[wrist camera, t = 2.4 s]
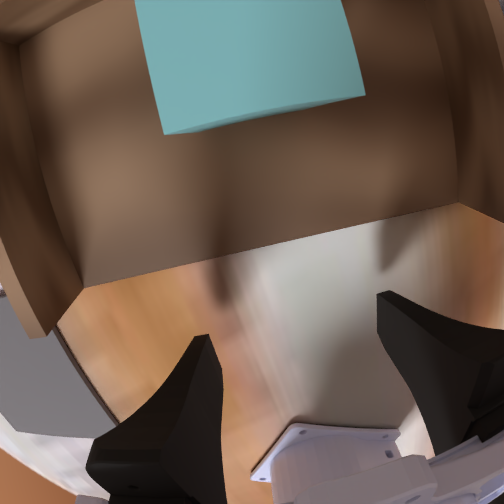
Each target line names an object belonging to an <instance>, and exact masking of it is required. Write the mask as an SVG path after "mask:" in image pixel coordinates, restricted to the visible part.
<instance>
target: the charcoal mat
mask: <svg viewBox="0 0 504 504" xmlns="http://www.w3.org/2000/svg"><path fill="white" fill-rule="evenodd" d="M0 413H1V414H2V415H3V416H4V417H5V419H6V420H7V421H8V422H9V423H10V424H11V426H12V427H13V428H14V429H15V430H16V431H18V432H25V433H33V434H41V435H51V436H62V437H76V438H98V437H100V436H101V435H103V434H105V433H107V432H108V431H110V430H112V429H113V428H115V427H116V426H118V425H119V423H118V422H117V421H116V420H115V418H114V417H113V416H112V414H111V413H110V412H109V410H108V409H107V407H106V406H105V405H104V403H103V402H102V400H101V399H100V398H99V396H98V395H97V393H96V392H95V390H94V389H93V387H92V386H91V385H90V383H89V381H88V380H87V378H86V377H85V375H84V374H83V372H82V371H81V369H80V368H79V366H78V364H77V363H76V361H75V359H74V358H73V356H72V355H71V353H70V351H69V349H68V348H67V346H66V344H65V343H64V341H63V339H62V337H61V336H60V334H59V332H58V330H57V328H56V326H54V328H53V329H52V330H51V332H50V333H49V335H48V336H47V337H42V338H35V339H29V337H28V335H27V334H26V332H25V330H24V328H23V326H22V325H21V323H20V321H19V319H18V317H17V315H16V313H15V311H14V309H13V308H12V306H11V304H10V302H9V300H8V297H7V295H6V294H5V295H2V296H0Z"/></svg>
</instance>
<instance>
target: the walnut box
mask: <svg viewBox="0 0 504 504" xmlns="http://www.w3.org/2000/svg"><path fill="white" fill-rule="evenodd" d="M341 3H342V6H343V9H344V12H345V16H346V19H347V22H348V26H349V29H350V33H351V36H352V40H353V44H354V47H355V51H356V55H357V59H358V63H359V67H360V71H361V76H362V80H363V85H364V89H365V94H366V95H365V96H360V97H355V98H350V99H346V100H341V101H337V102H333V103H328V104H324V105H320V106H316V107H312V108H308V109H304V110H299V111H294V112H288V113H282V114H277V115H272V116H267V117H262V118H257V119H252V120H247V121H243V122H238V123H234V124H230V125H225V126H221V127H217V128H213V129H209V130H205V131H201V132H197V133H182V134H170V135H164V132H163V129H162V125H161V120H160V116H159V112H158V108H157V104H156V100H155V96H154V91H153V87H152V83H151V78H150V74H149V69H148V65H147V60H146V56H145V51H144V46H143V42H142V37H141V32H140V27H139V22H138V16H137V11H136V6H135V0H0V283H1V285H2V287H3V289H4V291H5V293H6V295H7V297H8V300H9V302H10V304H11V306H12V308H13V309H14V311H15V313H16V315H17V317H18V319H19V321H20V323H21V325H22V326H23V328H24V330H25V332H26V334H27V335H28V337H29V339H35V338H42V337H47V336H48V335H49V333H50V332H51V330H52V329H53V328H54V326H55V325H56V324H57V322H58V321H59V320H60V318H61V317H62V316H63V314H64V313H65V312H66V310H67V309H68V308H69V307H70V305H71V304H72V303H73V301H74V300H75V299H76V298H77V296H78V295H79V294H80V293H81V291H82V290H83V289H84V288H87V287H91V286H96V285H100V284H104V283H108V282H113V281H117V280H121V279H126V278H130V277H134V276H138V275H143V274H147V273H151V272H156V271H160V270H164V269H169V268H173V267H177V266H182V265H186V264H190V263H195V262H199V261H203V260H208V259H212V258H216V257H221V256H225V255H229V254H234V253H238V252H242V251H247V250H251V249H255V248H260V247H264V246H268V245H273V244H277V243H281V242H286V241H290V240H295V239H299V238H303V237H308V236H312V235H316V234H321V233H325V232H330V231H334V230H338V229H343V228H347V227H351V226H356V225H360V224H365V223H369V222H373V221H378V220H382V219H387V218H391V217H395V216H400V215H404V214H409V213H413V212H418V211H422V210H426V209H431V208H435V207H440V206H444V205H448V204H453V203H457V202H459V203H461V204H464V205H466V206H468V207H470V208H473V209H475V210H477V211H479V212H481V213H484V214H486V215H488V216H490V217H492V218H494V219H496V220H498V221H500V222H502V223H504V15H503V12H502V9H501V6H500V4H499V1H498V0H341Z"/></svg>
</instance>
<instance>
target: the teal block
mask: <svg viewBox="0 0 504 504" xmlns="http://www.w3.org/2000/svg"><path fill="white" fill-rule="evenodd" d="M135 6H136V11H137V16H138V22H139V27H140V32H141V37H142V42H143V46H144V51H145V56H146V60H147V65H148V69H149V74H150V78H151V83H152V87H153V91H154V96H155V100H156V104H157V108H158V112H159V116H160V120H161V125H162V129H163V132H164V135H170V134H182V133H197V132H201V131H205V130H209V129H213V128H217V127H221V126H225V125H230V124H234V123H238V122H243V121H247V120H252V119H257V118H262V117H267V116H272V115H277V114H282V113H288V112H294V111H299V110H304V109H308V108H312V107H316V106H320V105H324V104H328V103H333V102H337V101H341V100H346V99H350V98H355V97H360V96H365V95H366V94H365V89H364V85H363V80H362V76H361V71H360V67H359V63H358V59H357V55H356V51H355V47H354V44H353V40H352V36H351V33H350V29H349V26H348V22H347V19H346V16H345V12H344V9H343V6H342V3H341V0H135Z"/></svg>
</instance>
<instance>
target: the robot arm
mask: <svg viewBox="0 0 504 504" xmlns="http://www.w3.org/2000/svg"><path fill="white" fill-rule="evenodd" d="M377 333H378V335H379V337H380V339H381V342H382V344H383V346H384V348H385V350H386V352H387V353H388V355H389V356H390V358H391V359H392V361H393V363H394V364H395V366H396V367H397V369H398V371H399V372H400V374H401V375H402V377H403V378H404V380H405V382H406V383H407V385H408V387H409V388H410V390H411V392H412V394H413V396H414V399H415V401H416V403H417V405H418V408H419V410H420V412H421V415H422V417H423V420H424V423H425V425H426V428H427V431H428V434H429V437H430V439H431V442H432V446H433V449H434V453H435V457H433V458H431V459H428V460H426V458H425V456H422V455H409V456H406V457H401V454H400V452H399V450H398V447H397V445H396V443H395V440H396V439H397V438H398V437H399V436H400V431H399V430H398V429H365V428H346V427H333V426H321V425H311V424H302V423H294V424H291V425H290V426H289V427H288V428H287V429H286V431H285V432H284V433H283V435H282V436H281V437H280V439H279V440H278V441H277V442H276V444H275V445H274V446H273V447H272V449H271V450H270V451H269V452H268V454H267V455H266V456H265V457H264V459H263V460H262V461H261V462H260V464H259V465H258V466H257V467H256V468H255V469H254V471H253V472H252V473H251V474H250V479H251V480H253V481H262V482H271V486H272V494H273V502H274V504H488V503H489V502H491V501H492V500H494V499H495V498H496V497H498V496H499V495H501V494H502V493H503V492H504V330H501V329H492V328H485V327H480V326H475V325H471V324H467V323H463V322H460V321H457V320H454V319H451V318H448V317H445V316H443V315H440V314H438V313H435V312H433V311H431V310H429V309H426V308H424V307H422V306H420V305H418V304H416V303H414V302H412V301H410V300H408V299H406V298H404V297H402V296H400V295H399V294H396V293H394V292H392V291H390V290H388V291H385V292H381V293H378V294H377ZM222 406H223V375H222V368H221V365H220V363H219V360H218V357H217V355H216V352H215V350H214V347H213V344H212V342H211V339H210V336H209V334H205V335H199V336H195V337H194V338H193V340H192V341H191V343H190V344H189V346H188V348H187V349H186V351H185V353H184V354H183V356H182V357H181V359H180V360H179V362H178V363H177V365H176V366H175V368H174V370H173V371H172V372H171V374H170V375H169V376H168V378H167V379H166V380H165V382H164V383H163V384H162V386H161V387H160V388H159V389H158V390H157V391H156V392H155V394H154V395H153V396H152V397H151V398H150V399H149V400H148V401H147V402H146V403H145V404H144V405H142V406H141V407H140V408H139V409H138V410H137V411H136V412H135V413H134V414H132V415H131V416H130V417H129V418H127V419H126V420H125V421H123V422H122V423H120V424H119V425H118V426H116V427H115V428H113V429H112V430H110V431H108V432H107V433H105V434H103V435H101V436H100V437H98V438H96V439H94V441H93V444H92V447H91V450H90V453H89V456H88V460H87V463H86V471H87V473H88V474H89V476H90V477H91V478H92V479H93V480H94V481H95V482H96V483H98V484H99V485H100V486H101V487H102V488H104V489H105V490H106V491H107V492H108V493H110V499H109V501H108V500H105V499H103V498H98V497H91V496H85V495H77V498H76V502H75V504H227V498H226V491H225V483H224V474H223V463H222V451H221V421H222Z"/></svg>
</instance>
